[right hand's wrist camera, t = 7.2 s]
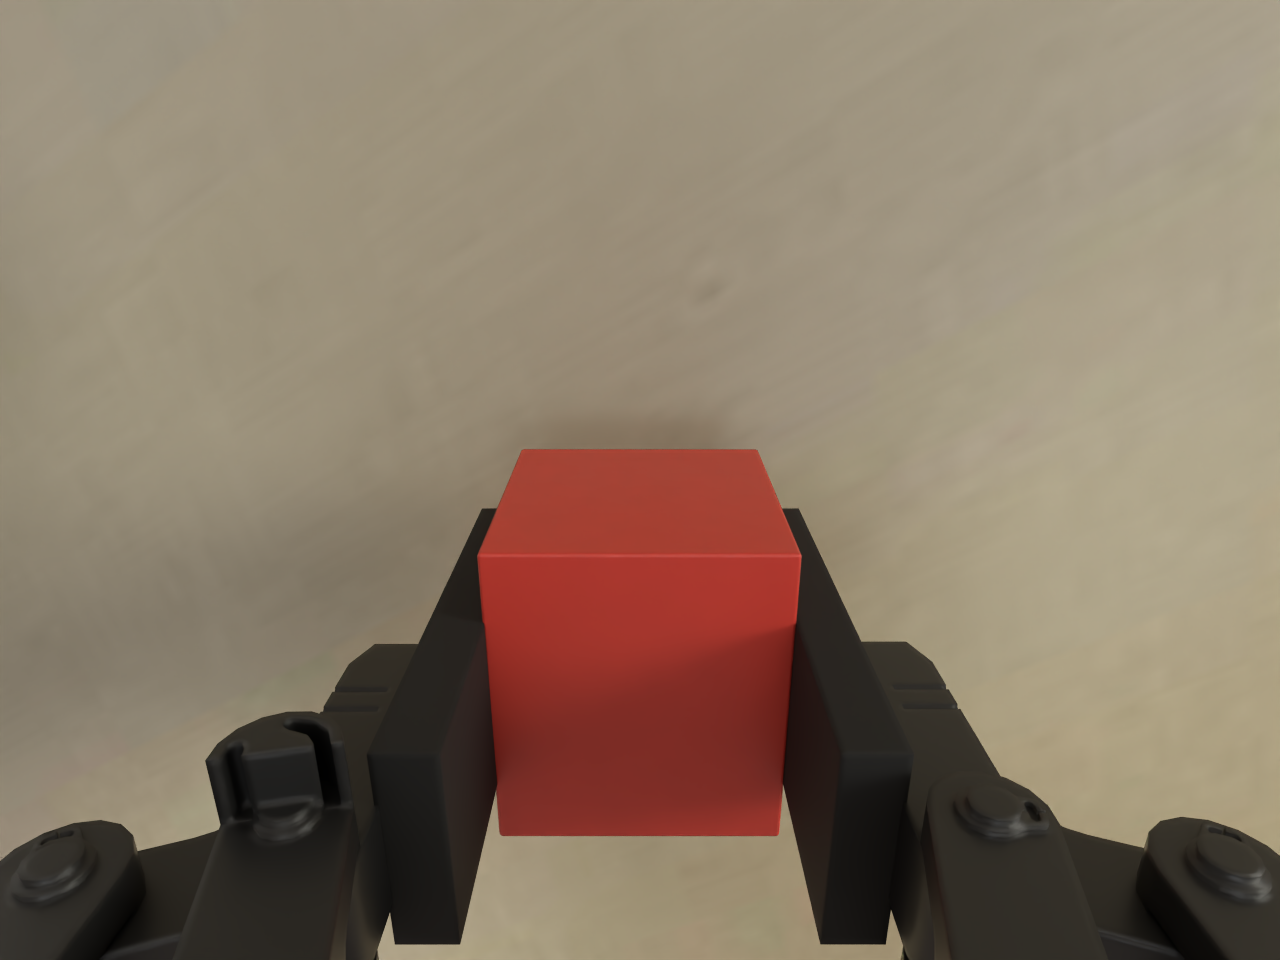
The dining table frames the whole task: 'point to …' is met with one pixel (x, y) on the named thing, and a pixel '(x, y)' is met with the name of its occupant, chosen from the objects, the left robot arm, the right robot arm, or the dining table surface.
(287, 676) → the dining table surface
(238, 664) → the dining table surface
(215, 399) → the dining table surface
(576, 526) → the brick
